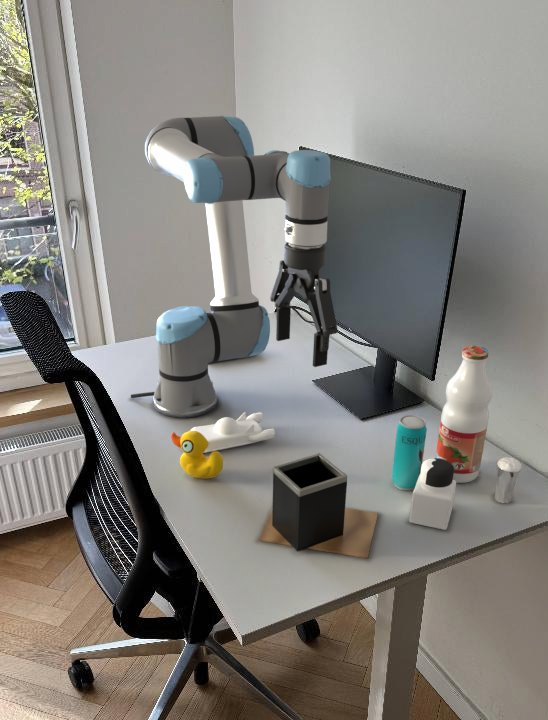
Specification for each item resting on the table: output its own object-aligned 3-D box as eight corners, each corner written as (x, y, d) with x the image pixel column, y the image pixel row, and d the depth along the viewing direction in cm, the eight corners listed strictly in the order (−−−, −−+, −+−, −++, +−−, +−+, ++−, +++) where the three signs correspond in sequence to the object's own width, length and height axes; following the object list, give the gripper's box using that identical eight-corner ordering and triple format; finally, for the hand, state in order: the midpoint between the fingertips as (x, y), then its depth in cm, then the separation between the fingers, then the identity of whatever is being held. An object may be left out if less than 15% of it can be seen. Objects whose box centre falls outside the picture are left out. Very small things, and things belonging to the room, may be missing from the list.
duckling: (167, 475, 156) (164, 433, 151) (179, 463, 161) (177, 422, 156) (216, 487, 153) (215, 445, 148) (228, 474, 157) (227, 433, 152)
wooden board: (259, 540, 138) (259, 538, 138) (277, 499, 150) (277, 497, 150) (367, 558, 134) (367, 556, 134) (377, 514, 146) (378, 512, 146)
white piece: (176, 437, 170) (174, 414, 167) (259, 424, 177) (259, 401, 174) (187, 460, 162) (186, 436, 159) (275, 445, 168) (275, 422, 165)
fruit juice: (487, 480, 158) (510, 356, 144) (447, 487, 155) (467, 362, 141) (464, 457, 166) (483, 338, 151) (425, 464, 163) (442, 343, 149)
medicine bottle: (451, 510, 148) (460, 458, 142) (446, 531, 142) (454, 477, 136) (415, 503, 150) (422, 451, 144) (408, 523, 144) (415, 469, 138)
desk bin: (299, 491, 129) (347, 475, 133) (273, 466, 135) (319, 452, 140) (297, 551, 135) (343, 534, 140) (272, 525, 142) (316, 510, 146)
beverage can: (418, 494, 153) (426, 429, 145) (389, 490, 154) (397, 425, 146) (419, 479, 158) (428, 415, 150) (392, 475, 158) (399, 412, 151)
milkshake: (514, 509, 149) (523, 466, 144) (487, 500, 151) (495, 458, 146) (521, 498, 152) (530, 456, 147) (495, 490, 155) (503, 448, 150)
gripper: (253, 228, 143) (253, 332, 154) (326, 265, 125) (319, 381, 136) (287, 224, 147) (284, 326, 158) (362, 259, 129) (353, 372, 140)
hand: (300, 352), depth 147 cm, fingers open, 13 cm apart
